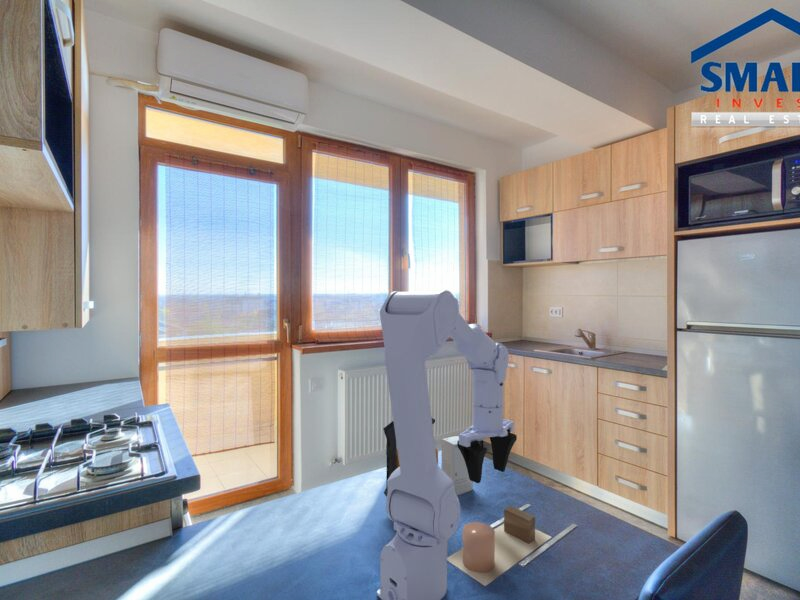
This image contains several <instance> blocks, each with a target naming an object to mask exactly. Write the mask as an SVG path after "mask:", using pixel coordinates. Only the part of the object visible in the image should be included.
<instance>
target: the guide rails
mask: <svg viewBox="0 0 800 600" xmlns="http://www.w3.org/2000/svg"><path fill="white" fill-rule="evenodd" d="M531 506H532V505H531V504H529V503H526V504H525V505H522V506H521V507H519V508H518V509H519V510H522V511H525V510H526V509H529V508H530V507H531ZM502 524H504V516H503V517H501V518H500V519H498V520H497V521H495V522H493V523H492V524H490V525H489V526H491V527H492V528H493V529H495V528H497V527H499V526H501V525H502ZM577 527H578V525H577V524H575V523H571V524H570V525H569V526H568V527H566V528H565V529H563V530H562V531H561V532H559V533H558V534H557V535H555V536H554V537H552V538H550V539H549V540H548V542H547V541H546V542H545V543H544V544H542V545H541V546H540V547H538V548H537V549H535V550H534V551H533V552H531V553H530V554H529V555H527V556H526V557H525V558H523V559H522V560H521V561H519V562H518V565H519V566H521V567H522V568H525V566H527V565H528V564H529V563H531V562H533V560H535V559H536V558H537V557H539V556H540V555H541V554H543V553H544V552H546V551H547V550H548V549H549V548H550V547H552V546H553V545H554V544H556V543H557V542H558V541H560V540H561V539H562V538H564V537H565V536H566V535H568V534H569V533H570V532H571V531H573V530H574V529H575V528H577Z"/></svg>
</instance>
